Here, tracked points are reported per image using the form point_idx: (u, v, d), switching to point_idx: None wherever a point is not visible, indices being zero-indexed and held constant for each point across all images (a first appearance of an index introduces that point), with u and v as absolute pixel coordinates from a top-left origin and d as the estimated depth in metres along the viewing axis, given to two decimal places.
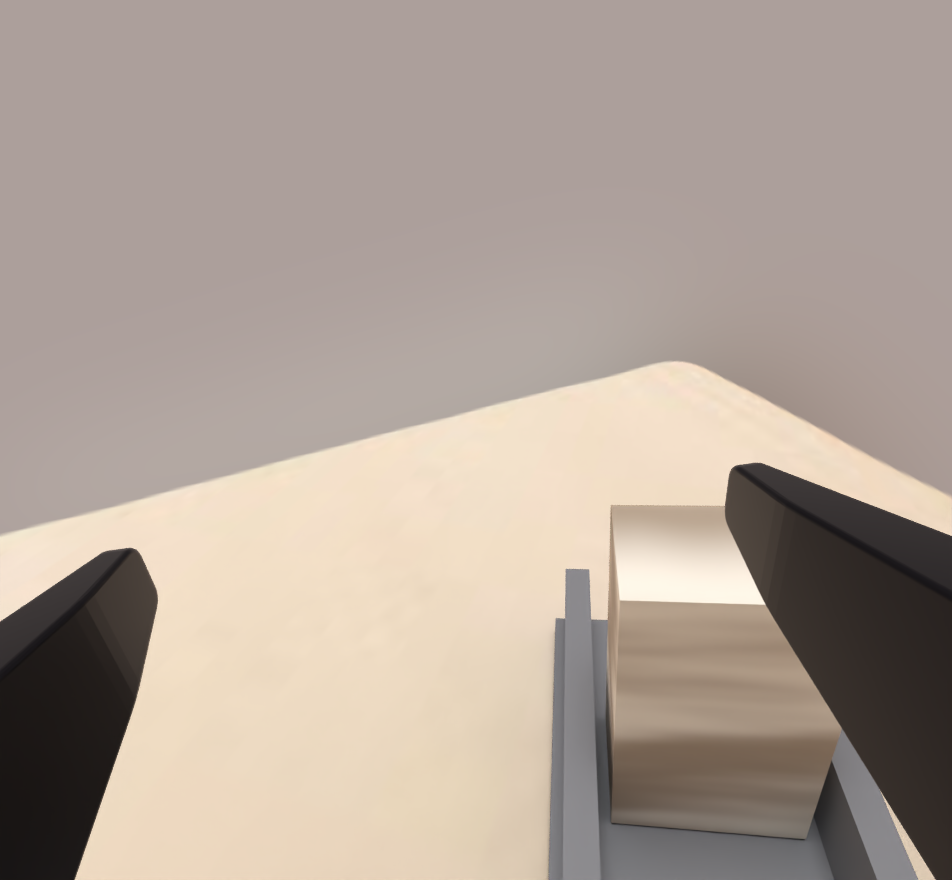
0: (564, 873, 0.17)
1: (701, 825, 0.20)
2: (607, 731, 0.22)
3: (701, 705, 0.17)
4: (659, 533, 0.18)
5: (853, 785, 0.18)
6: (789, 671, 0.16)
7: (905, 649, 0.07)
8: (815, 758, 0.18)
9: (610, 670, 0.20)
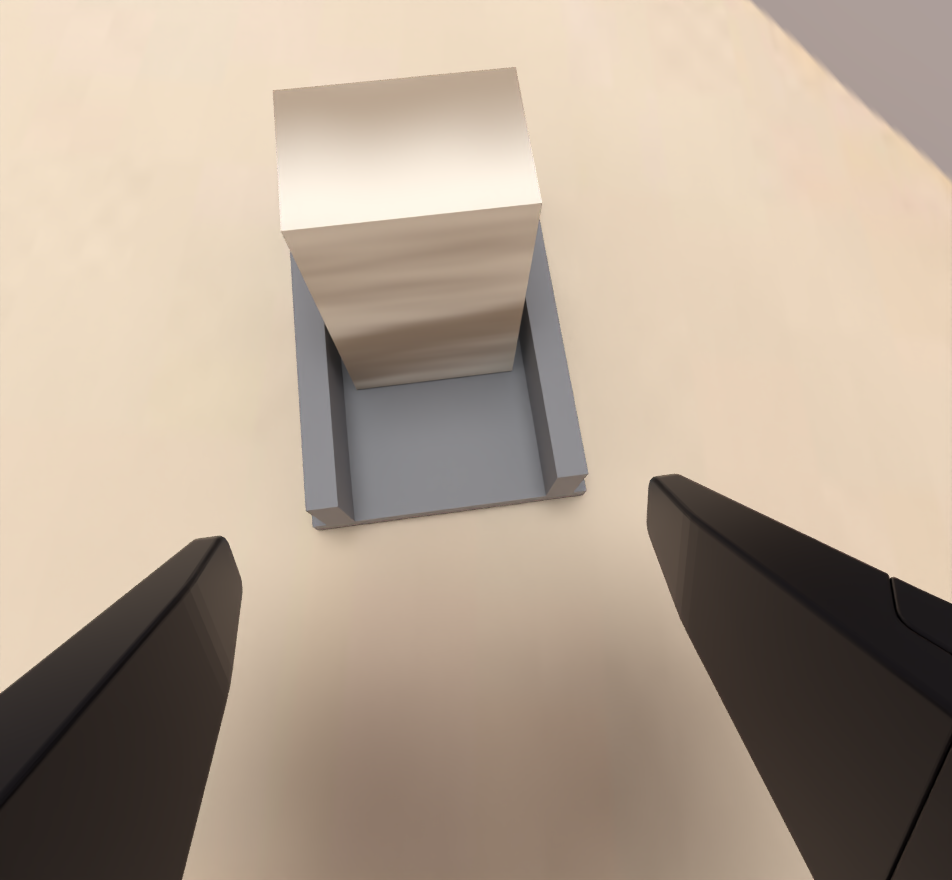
0: (303, 449, 0.20)
1: (430, 378, 0.24)
2: None
3: (399, 303, 0.18)
4: (329, 129, 0.15)
5: (541, 333, 0.21)
6: (469, 266, 0.16)
7: (789, 667, 0.06)
8: (507, 322, 0.20)
9: None
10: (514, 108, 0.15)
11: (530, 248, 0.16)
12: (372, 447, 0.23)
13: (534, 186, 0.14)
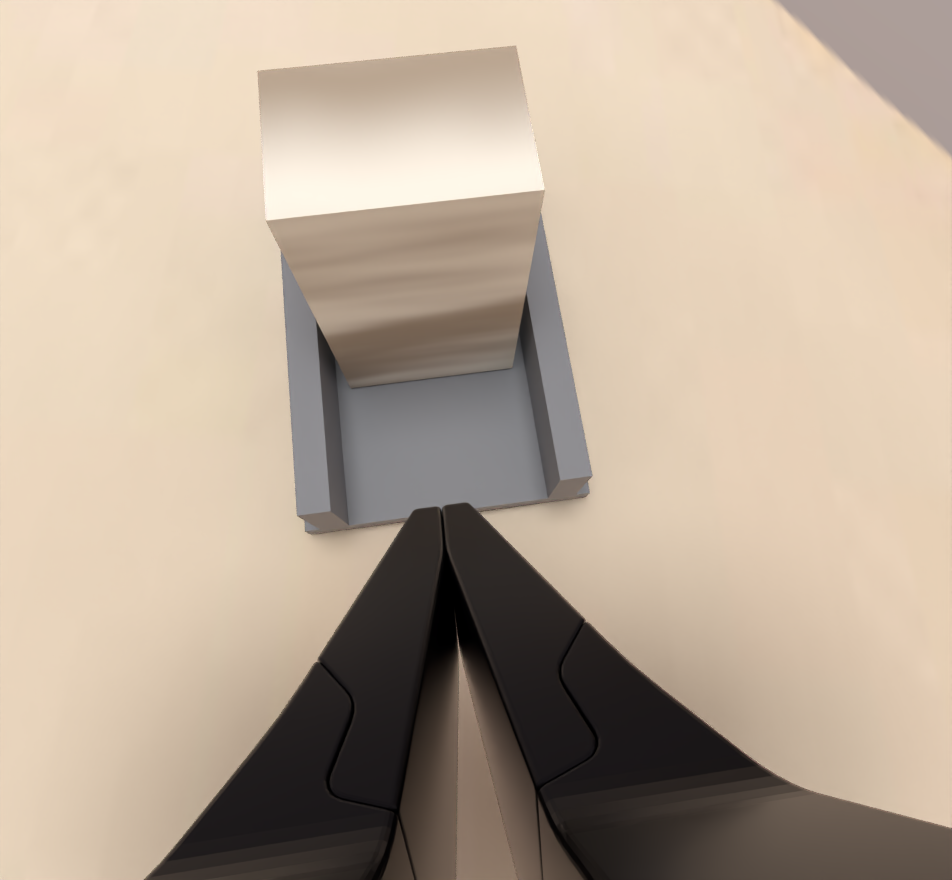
0: (294, 451, 0.19)
1: (426, 375, 0.23)
2: None
3: (394, 297, 0.17)
4: (317, 111, 0.14)
5: (543, 329, 0.20)
6: (468, 258, 0.16)
7: (490, 713, 0.06)
8: (507, 317, 0.19)
9: None
10: (514, 89, 0.14)
11: (531, 239, 0.15)
12: (367, 448, 0.22)
13: (536, 172, 0.14)
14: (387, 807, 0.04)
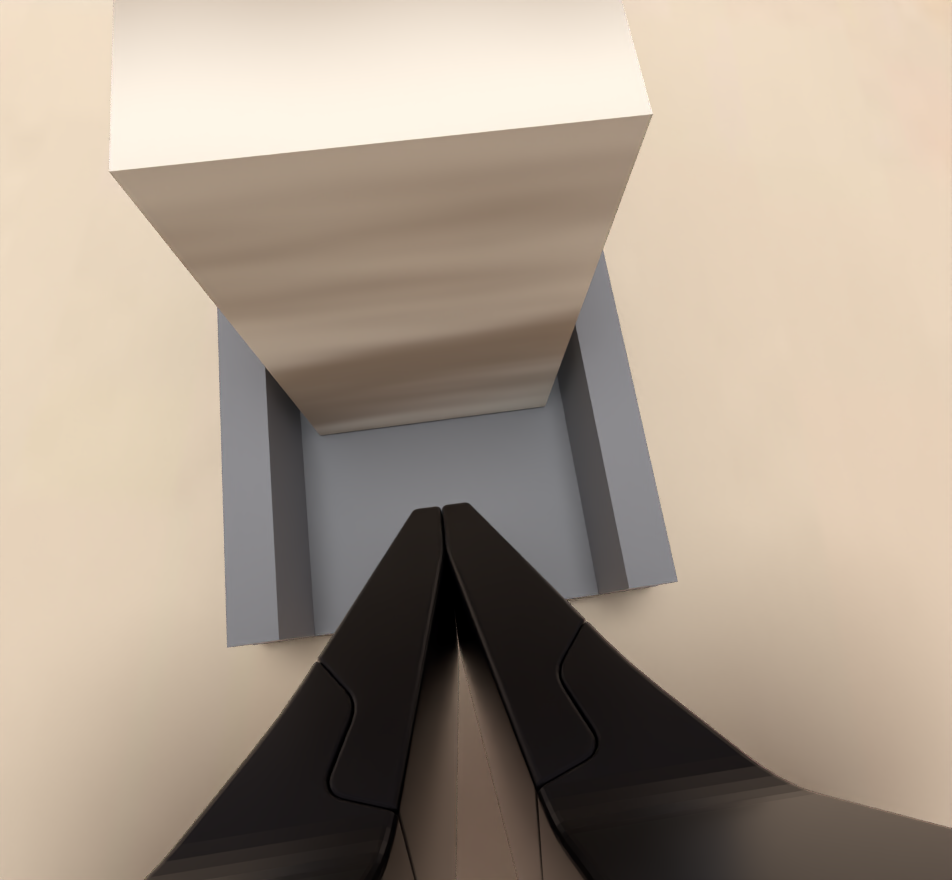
0: (226, 544, 0.13)
1: (426, 418, 0.16)
2: None
3: (374, 314, 0.11)
4: None
5: (597, 356, 0.14)
6: (496, 249, 0.09)
7: (490, 713, 0.06)
8: (549, 341, 0.13)
9: None
10: None
11: (609, 215, 0.09)
12: (342, 521, 0.16)
13: (634, 82, 0.07)
14: (387, 807, 0.04)
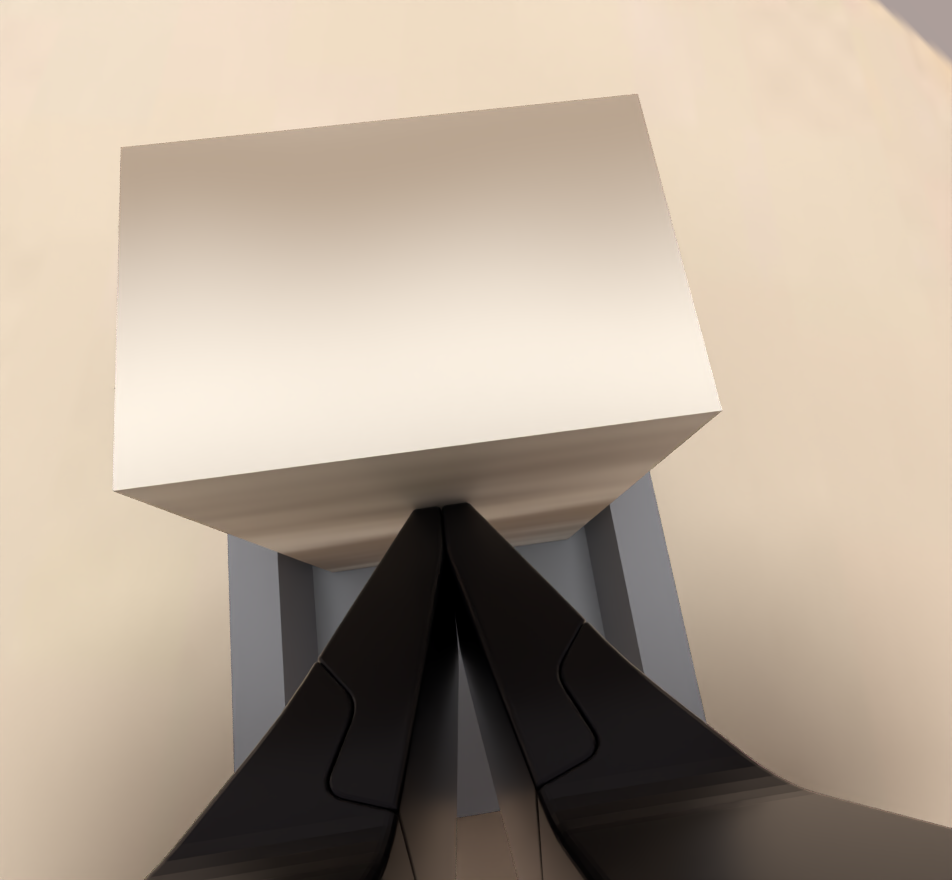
0: None
1: None
2: None
3: (397, 521, 0.10)
4: (238, 234, 0.07)
5: (635, 553, 0.13)
6: (534, 483, 0.08)
7: (490, 713, 0.06)
8: (579, 514, 0.12)
9: None
10: (642, 184, 0.07)
11: (659, 457, 0.08)
12: None
13: (700, 368, 0.06)
14: (387, 807, 0.04)
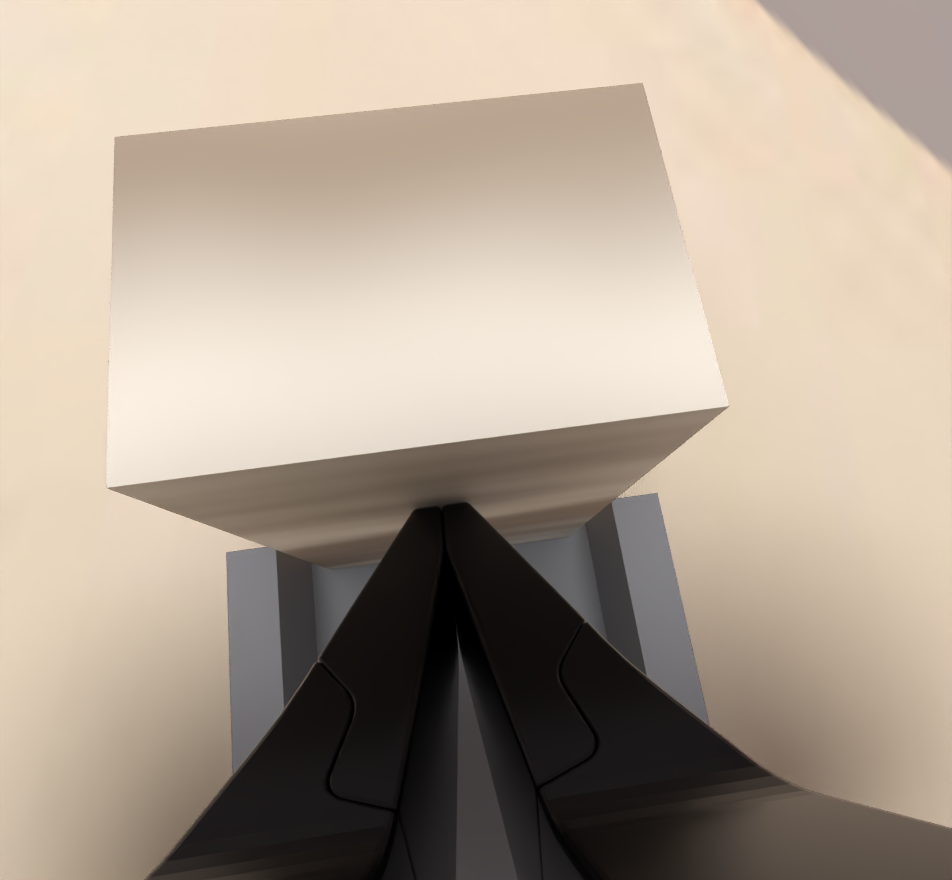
0: None
1: None
2: None
3: (397, 519, 0.10)
4: (235, 226, 0.07)
5: None
6: (536, 479, 0.08)
7: (490, 713, 0.06)
8: (580, 511, 0.12)
9: None
10: (647, 174, 0.07)
11: (663, 454, 0.08)
12: None
13: (707, 363, 0.06)
14: (387, 807, 0.04)
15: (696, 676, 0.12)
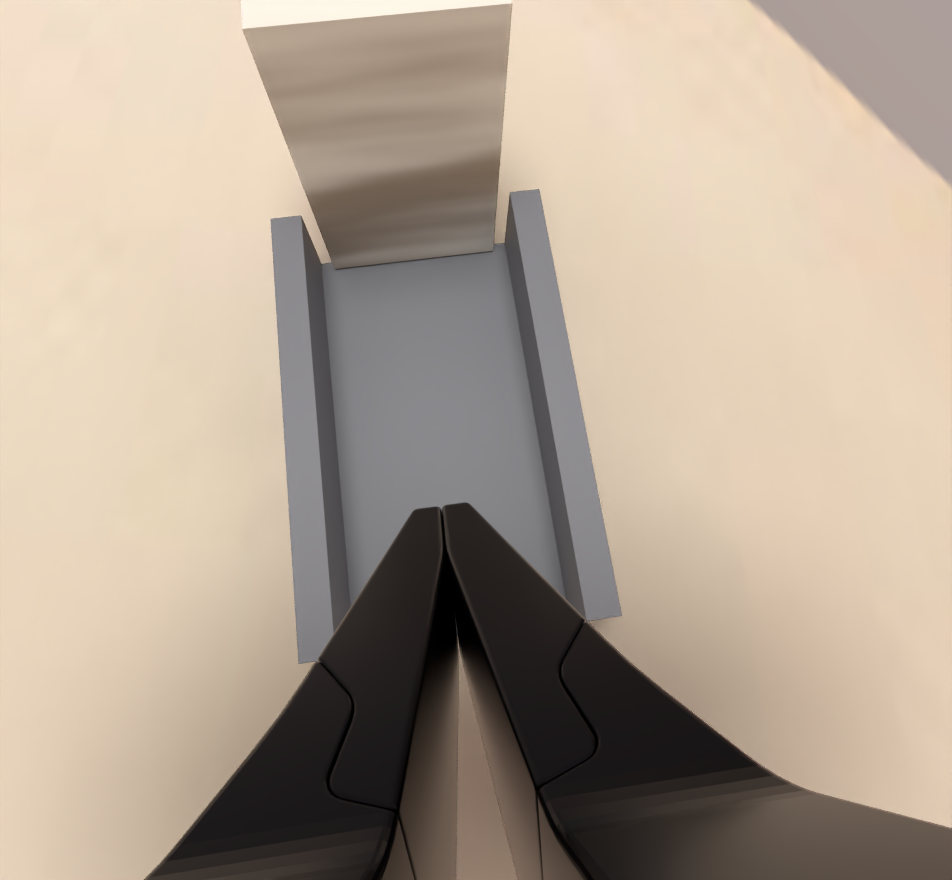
0: (295, 589, 0.17)
1: (409, 256, 0.23)
2: None
3: (372, 145, 0.17)
4: None
5: (566, 445, 0.19)
6: (442, 93, 0.16)
7: (490, 713, 0.06)
8: (485, 179, 0.20)
9: None
10: None
11: (503, 71, 0.16)
12: (373, 562, 0.21)
13: None
14: (387, 807, 0.04)
15: (556, 286, 0.20)
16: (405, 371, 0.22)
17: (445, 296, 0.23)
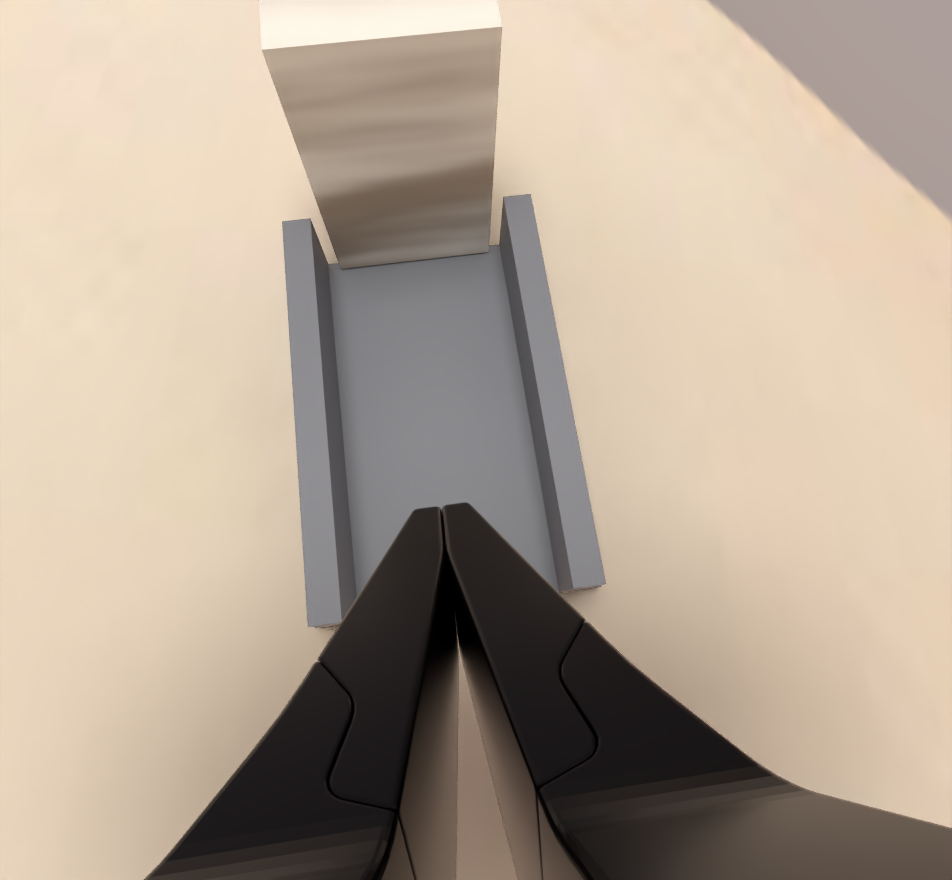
0: (305, 559, 0.19)
1: (410, 256, 0.25)
2: None
3: (376, 153, 0.19)
4: None
5: (555, 428, 0.20)
6: (439, 106, 0.18)
7: (490, 713, 0.06)
8: (480, 184, 0.21)
9: None
10: None
11: (495, 86, 0.17)
12: (376, 540, 0.22)
13: (495, 13, 0.16)
14: (387, 807, 0.04)
15: (546, 283, 0.22)
16: (406, 363, 0.24)
17: (444, 294, 0.25)
